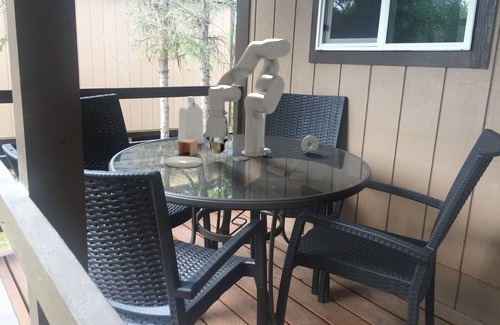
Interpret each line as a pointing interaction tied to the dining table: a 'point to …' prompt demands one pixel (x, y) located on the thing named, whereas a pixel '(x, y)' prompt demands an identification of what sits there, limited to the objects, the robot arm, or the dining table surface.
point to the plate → (183, 162)
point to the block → (215, 147)
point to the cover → (187, 146)
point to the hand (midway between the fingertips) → (217, 150)
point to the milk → (191, 121)
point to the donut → (305, 142)
